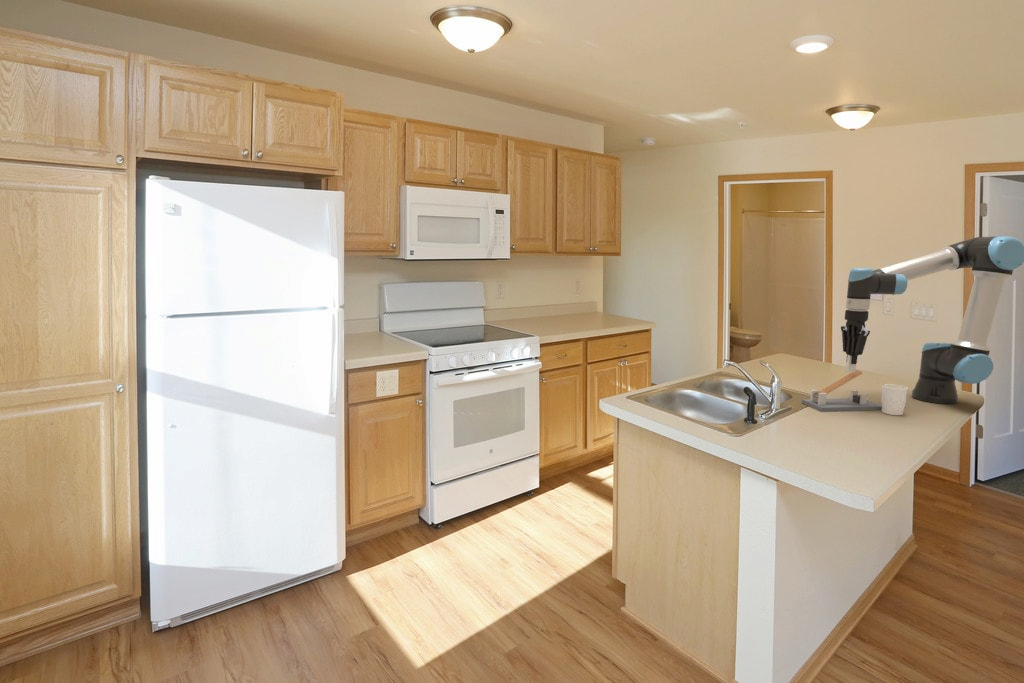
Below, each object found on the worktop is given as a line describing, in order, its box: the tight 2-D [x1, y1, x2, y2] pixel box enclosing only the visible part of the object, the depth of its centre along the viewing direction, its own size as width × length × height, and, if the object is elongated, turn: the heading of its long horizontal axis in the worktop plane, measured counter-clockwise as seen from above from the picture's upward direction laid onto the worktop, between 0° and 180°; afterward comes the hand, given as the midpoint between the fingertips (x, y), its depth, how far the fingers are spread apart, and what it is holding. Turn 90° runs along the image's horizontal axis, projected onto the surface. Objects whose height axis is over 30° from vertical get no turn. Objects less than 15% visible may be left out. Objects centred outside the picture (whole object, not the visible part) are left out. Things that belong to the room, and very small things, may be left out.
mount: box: [801, 389, 882, 413], centre depth 220 cm, size 25×12×6 cm, turn 96°
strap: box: [814, 369, 863, 398], centre depth 219 cm, size 19×3×1 cm
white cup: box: [880, 383, 909, 416], centre depth 212 cm, size 8×8×10 cm
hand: (850, 371), depth 219 cm, fingers closed
